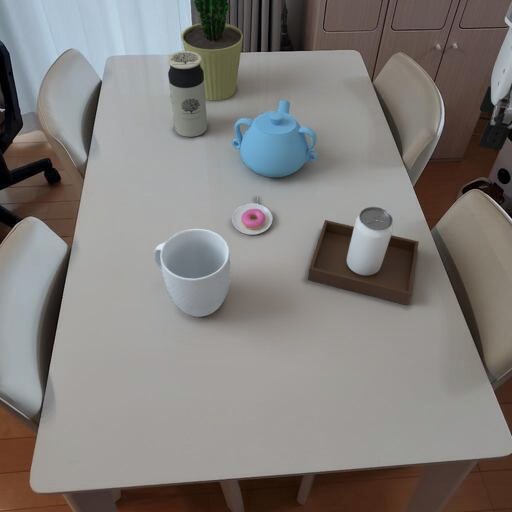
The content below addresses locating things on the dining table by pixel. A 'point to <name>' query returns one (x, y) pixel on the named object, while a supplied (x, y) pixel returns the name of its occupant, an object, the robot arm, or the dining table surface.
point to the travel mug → (187, 93)
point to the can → (369, 241)
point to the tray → (377, 285)
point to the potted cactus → (215, 48)
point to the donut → (252, 219)
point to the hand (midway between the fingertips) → (489, 128)
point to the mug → (195, 270)
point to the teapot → (274, 143)
